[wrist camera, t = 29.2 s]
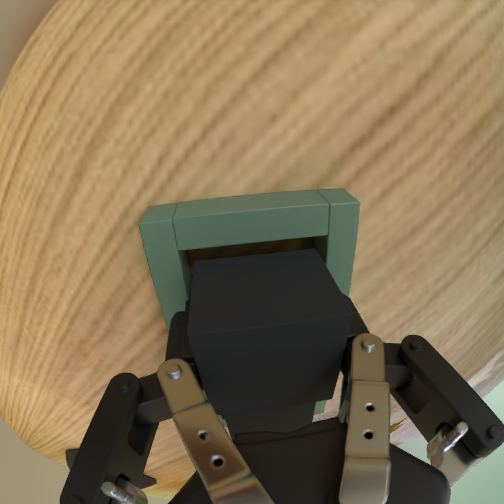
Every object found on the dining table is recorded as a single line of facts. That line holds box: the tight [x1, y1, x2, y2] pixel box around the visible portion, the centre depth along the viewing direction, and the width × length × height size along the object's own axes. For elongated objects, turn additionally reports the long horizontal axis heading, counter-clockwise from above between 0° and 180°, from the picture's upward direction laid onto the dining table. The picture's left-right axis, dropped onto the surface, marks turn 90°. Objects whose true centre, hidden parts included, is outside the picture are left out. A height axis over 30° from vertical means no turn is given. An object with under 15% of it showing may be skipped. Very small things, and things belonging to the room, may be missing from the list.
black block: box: [187, 248, 353, 415], centre depth 12 cm, size 5×5×4 cm
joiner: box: [138, 189, 360, 427], centre depth 17 cm, size 10×18×2 cm, turn 3°
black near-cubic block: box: [224, 402, 316, 441], centre depth 18 cm, size 5×5×4 cm
